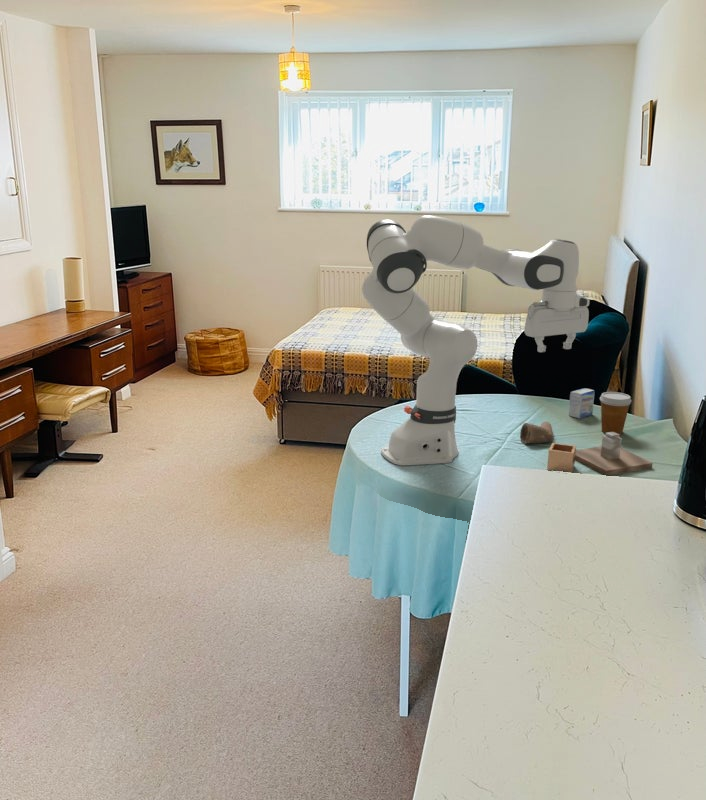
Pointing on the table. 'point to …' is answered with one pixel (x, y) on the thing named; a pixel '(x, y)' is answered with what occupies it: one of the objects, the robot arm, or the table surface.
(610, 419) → the disposable coffee cup
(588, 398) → the medicine box
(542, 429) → the pipe
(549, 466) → the tan hollow cube
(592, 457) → the wavy brown square sheet
